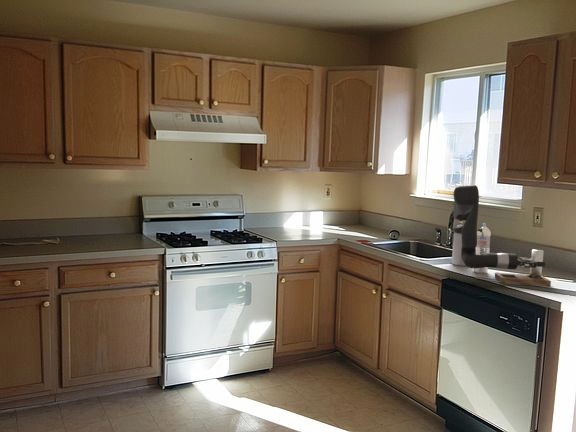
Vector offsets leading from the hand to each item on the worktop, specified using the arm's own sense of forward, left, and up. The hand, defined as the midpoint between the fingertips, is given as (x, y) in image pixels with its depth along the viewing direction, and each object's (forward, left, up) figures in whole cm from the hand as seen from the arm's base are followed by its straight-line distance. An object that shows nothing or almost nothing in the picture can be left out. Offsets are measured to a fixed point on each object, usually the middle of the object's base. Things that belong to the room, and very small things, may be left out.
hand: (542, 263), depth 261 cm
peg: (0, -3, -8) cm, 8 cm away
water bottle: (-17, -24, -10) cm, 31 cm away
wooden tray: (0, -9, -10) cm, 13 cm away
